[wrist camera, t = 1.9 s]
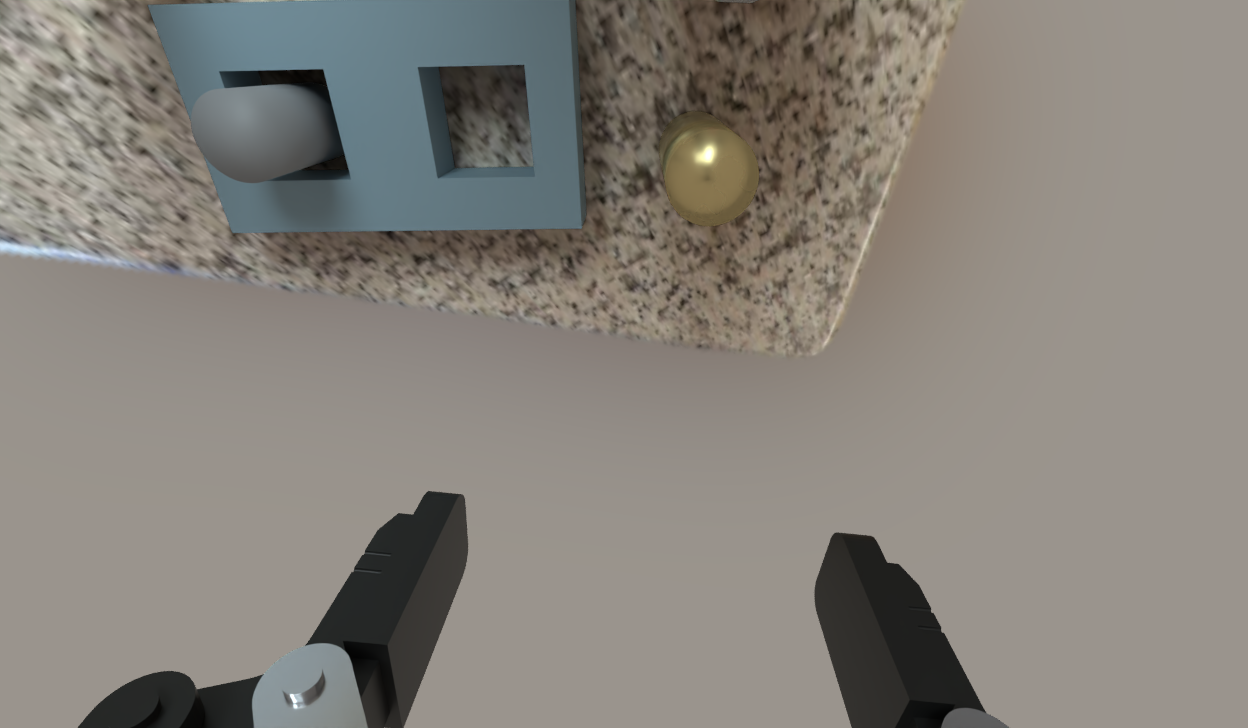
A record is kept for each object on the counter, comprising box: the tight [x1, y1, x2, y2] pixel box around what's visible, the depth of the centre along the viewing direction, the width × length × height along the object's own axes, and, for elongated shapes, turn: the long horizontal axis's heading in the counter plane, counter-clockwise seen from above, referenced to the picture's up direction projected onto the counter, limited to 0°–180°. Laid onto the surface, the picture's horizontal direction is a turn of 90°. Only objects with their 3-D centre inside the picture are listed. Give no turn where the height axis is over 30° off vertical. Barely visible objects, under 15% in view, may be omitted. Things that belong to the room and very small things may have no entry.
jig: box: [148, 0, 586, 233], centre depth 31 cm, size 12×22×8 cm, turn 91°
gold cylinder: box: [659, 111, 759, 226], centre depth 30 cm, size 4×4×10 cm
